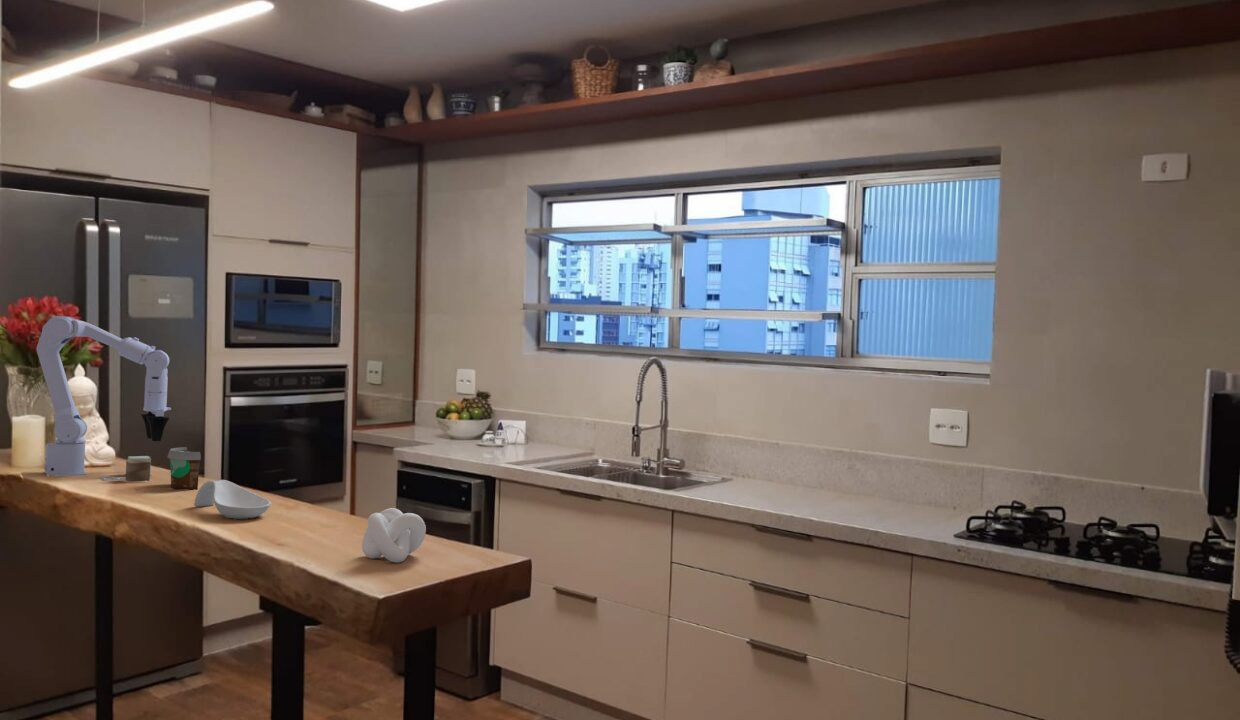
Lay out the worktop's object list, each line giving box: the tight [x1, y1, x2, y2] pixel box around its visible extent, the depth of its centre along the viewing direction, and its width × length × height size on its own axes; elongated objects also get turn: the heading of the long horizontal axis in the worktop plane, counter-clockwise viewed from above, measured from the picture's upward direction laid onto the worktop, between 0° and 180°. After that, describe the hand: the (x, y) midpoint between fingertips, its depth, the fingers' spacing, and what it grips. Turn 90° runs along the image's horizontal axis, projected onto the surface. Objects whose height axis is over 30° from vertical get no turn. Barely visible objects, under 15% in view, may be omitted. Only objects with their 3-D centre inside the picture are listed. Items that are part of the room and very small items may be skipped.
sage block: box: [127, 455, 152, 471], centre depth 254 cm, size 5×5×5 cm
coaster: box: [122, 478, 153, 484], centre depth 244 cm, size 7×7×1 cm
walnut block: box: [125, 460, 151, 482], centre depth 244 cm, size 5×5×5 cm
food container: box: [167, 446, 202, 491], centre depth 239 cm, size 12×6×10 cm, turn 42°
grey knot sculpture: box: [361, 507, 427, 564], centre depth 172 cm, size 11×12×9 cm
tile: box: [99, 476, 126, 482], centre depth 246 cm, size 6×6×1 cm
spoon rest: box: [193, 479, 272, 520], centre depth 207 cm, size 24×12×7 cm, turn 52°
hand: (153, 439), depth 259 cm, fingers open, 7 cm apart
